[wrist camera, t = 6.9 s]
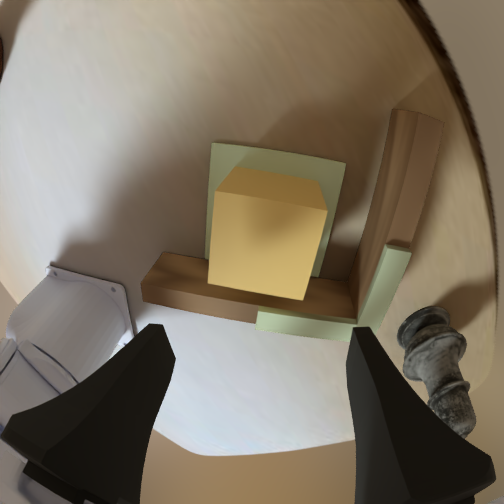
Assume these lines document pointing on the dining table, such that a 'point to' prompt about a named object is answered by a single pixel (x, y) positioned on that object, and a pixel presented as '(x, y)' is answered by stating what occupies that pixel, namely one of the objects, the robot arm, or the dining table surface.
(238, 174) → the ochre block
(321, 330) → the walnut walls
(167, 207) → the dining table surface
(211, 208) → the sage pad
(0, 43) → the figurine
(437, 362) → the grey stone finial
